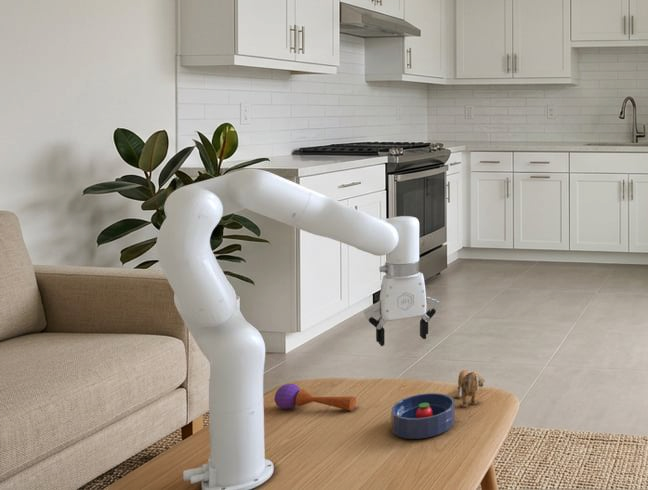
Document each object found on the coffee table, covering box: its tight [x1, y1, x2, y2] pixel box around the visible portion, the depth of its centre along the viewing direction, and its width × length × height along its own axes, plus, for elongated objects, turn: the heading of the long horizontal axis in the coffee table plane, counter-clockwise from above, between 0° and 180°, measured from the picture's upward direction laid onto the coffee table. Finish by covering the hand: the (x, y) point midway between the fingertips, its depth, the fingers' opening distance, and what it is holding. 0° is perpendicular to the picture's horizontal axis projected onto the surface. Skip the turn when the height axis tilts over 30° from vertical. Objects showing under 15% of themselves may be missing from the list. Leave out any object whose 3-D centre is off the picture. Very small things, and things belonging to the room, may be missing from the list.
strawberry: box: [416, 403, 433, 418], centre depth 157 cm, size 4×4×5 cm
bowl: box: [390, 392, 456, 440], centre depth 157 cm, size 14×14×5 cm
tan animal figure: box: [456, 369, 486, 408], centre depth 171 cm, size 15×5×9 cm, turn 33°
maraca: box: [274, 383, 357, 412], centre depth 167 cm, size 6×6×20 cm
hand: (402, 340), depth 158 cm, fingers open, 9 cm apart
